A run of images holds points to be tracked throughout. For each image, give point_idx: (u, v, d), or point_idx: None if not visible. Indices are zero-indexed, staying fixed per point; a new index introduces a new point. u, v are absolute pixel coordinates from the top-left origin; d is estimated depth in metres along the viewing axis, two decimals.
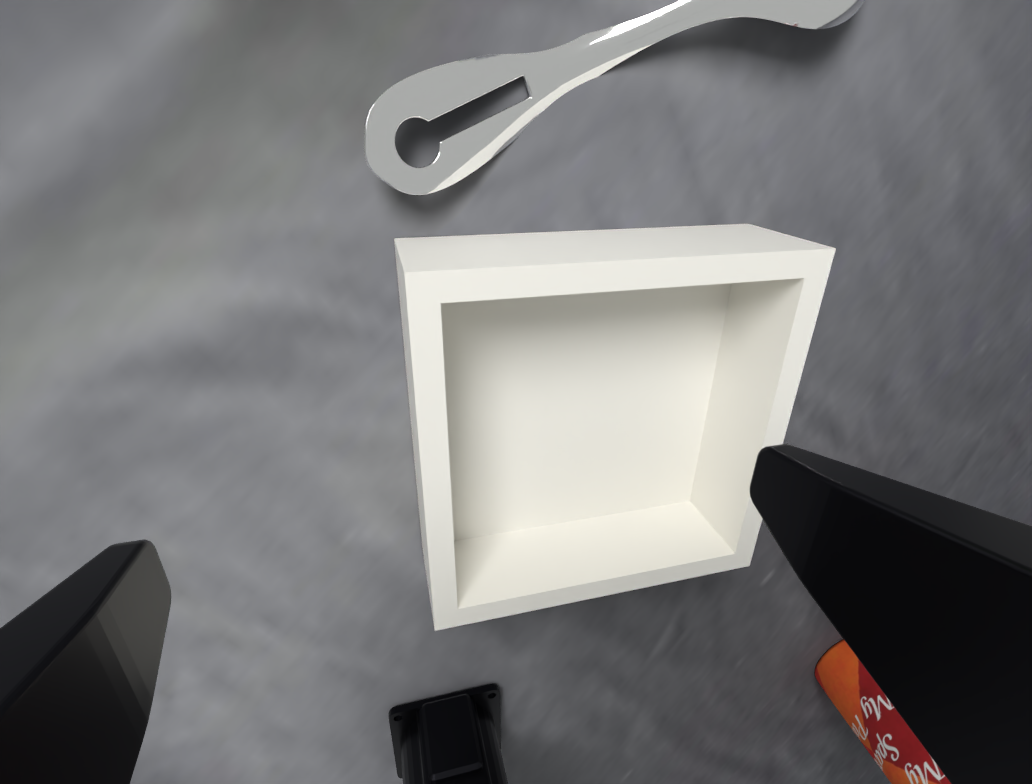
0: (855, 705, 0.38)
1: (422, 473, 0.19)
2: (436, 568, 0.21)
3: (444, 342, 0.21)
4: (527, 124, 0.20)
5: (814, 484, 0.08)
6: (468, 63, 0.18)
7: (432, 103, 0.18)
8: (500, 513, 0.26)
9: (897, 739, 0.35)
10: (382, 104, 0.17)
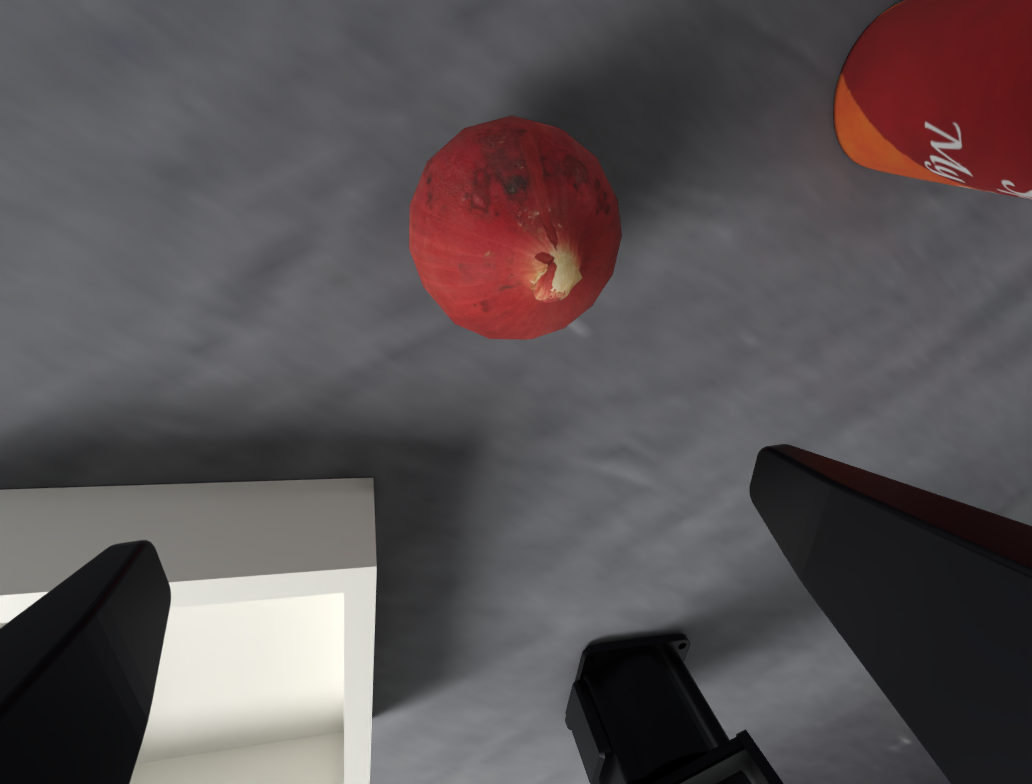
0: (938, 178, 0.18)
1: None
2: None
3: None
4: None
5: (814, 484, 0.08)
6: None
7: None
8: (318, 697, 0.25)
9: (1017, 178, 0.15)
10: None
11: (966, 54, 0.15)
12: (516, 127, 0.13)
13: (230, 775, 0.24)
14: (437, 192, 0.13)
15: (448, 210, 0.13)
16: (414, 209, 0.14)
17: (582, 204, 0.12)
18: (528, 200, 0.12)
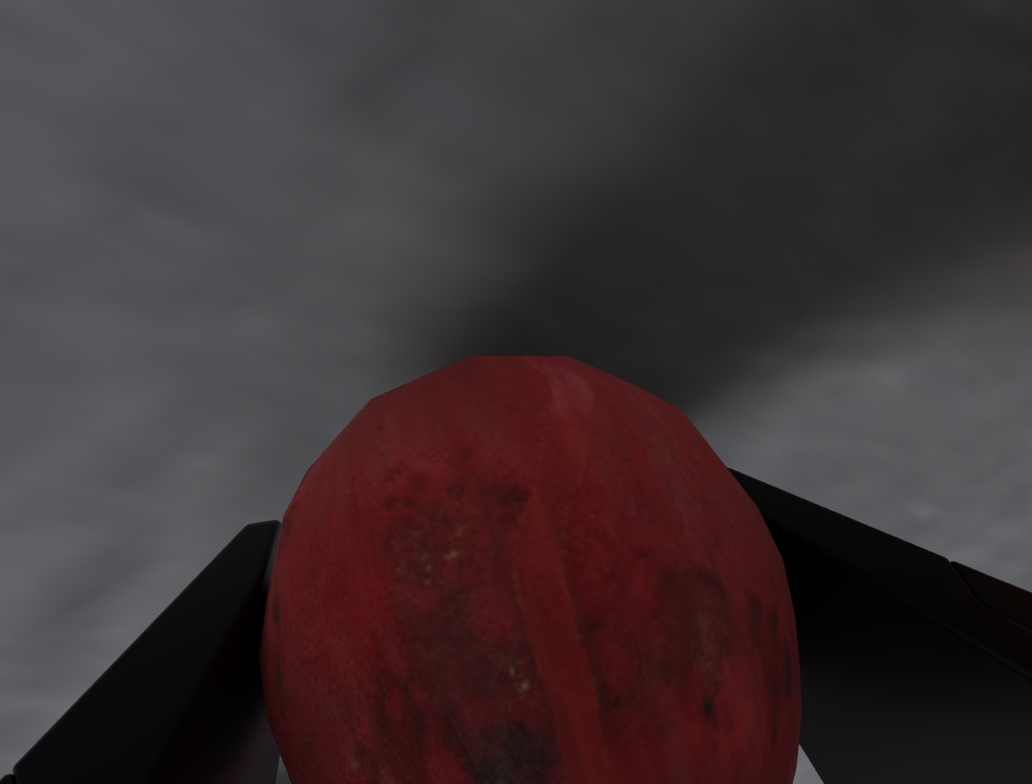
0: None
1: None
2: None
3: None
4: None
5: None
6: None
7: None
8: None
9: None
10: None
11: None
12: (495, 472, 0.04)
13: None
14: (290, 684, 0.05)
15: (319, 763, 0.04)
16: (260, 658, 0.05)
17: (738, 760, 0.04)
18: None
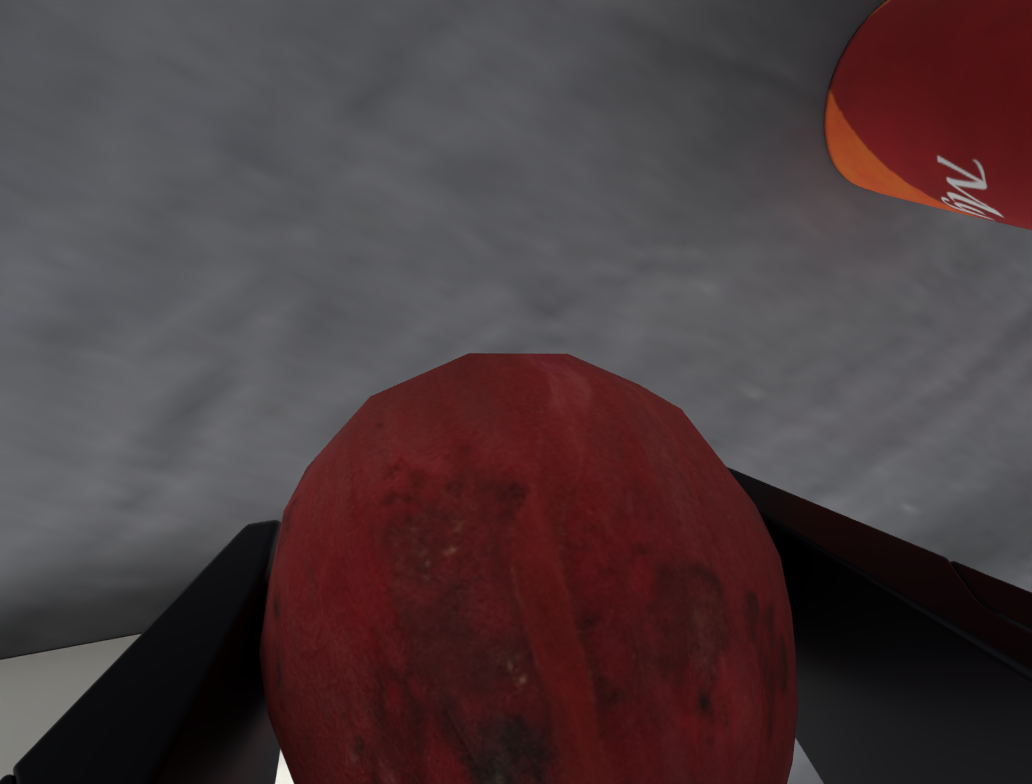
0: (960, 212, 0.15)
1: None
2: None
3: None
4: None
5: None
6: None
7: None
8: None
9: None
10: None
11: (984, 76, 0.12)
12: (494, 468, 0.04)
13: None
14: (291, 679, 0.05)
15: (317, 758, 0.04)
16: (260, 654, 0.05)
17: (733, 753, 0.04)
18: None
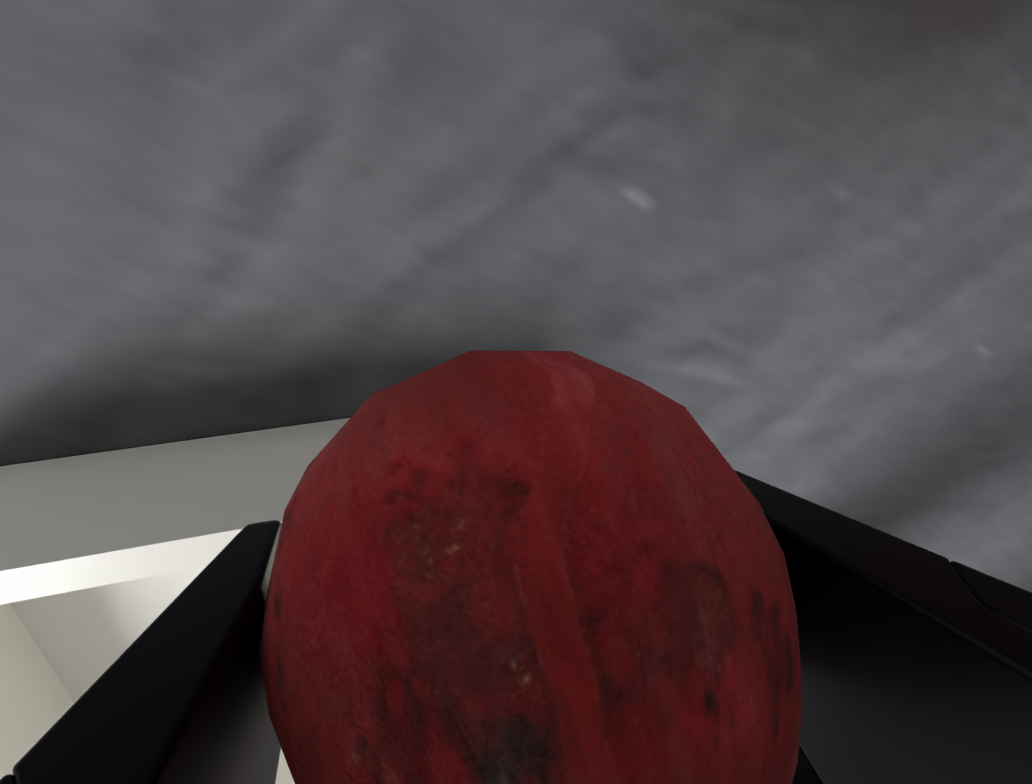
0: None
1: None
2: None
3: None
4: None
5: None
6: None
7: None
8: None
9: None
10: None
11: None
12: (497, 466, 0.04)
13: None
14: (293, 678, 0.05)
15: (321, 757, 0.04)
16: (261, 653, 0.05)
17: (739, 753, 0.04)
18: None
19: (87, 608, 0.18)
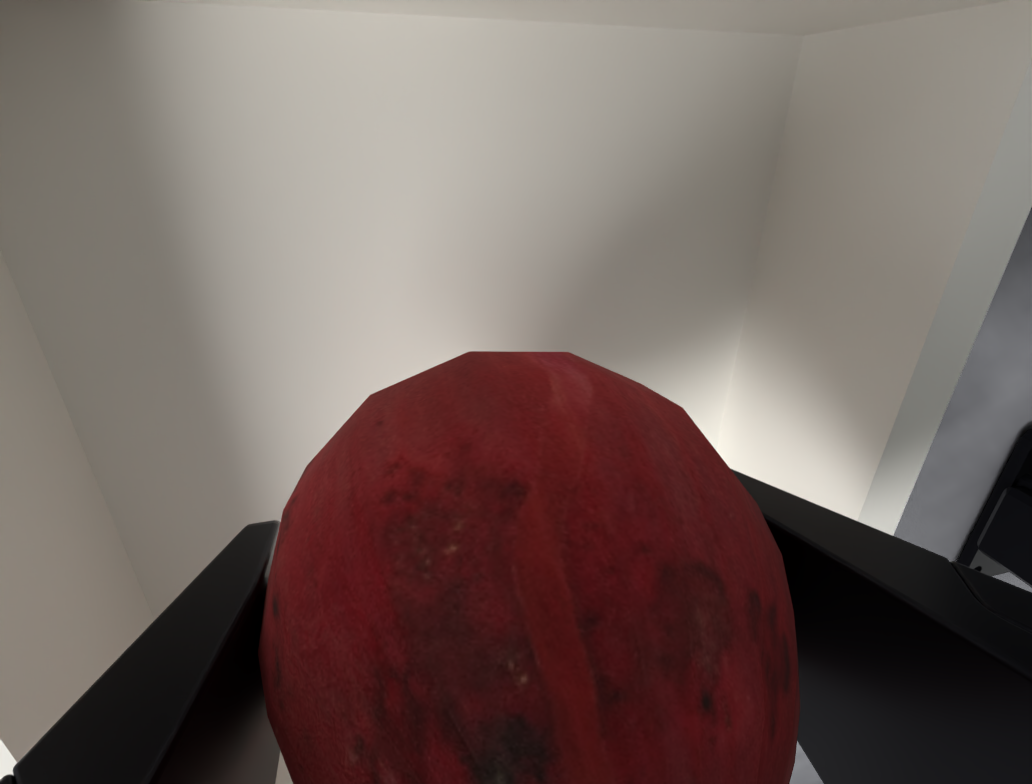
0: None
1: None
2: None
3: None
4: None
5: None
6: None
7: None
8: None
9: None
10: None
11: None
12: (495, 466, 0.04)
13: None
14: (291, 679, 0.05)
15: (317, 757, 0.04)
16: (259, 653, 0.05)
17: (735, 752, 0.04)
18: None
19: (167, 318, 0.09)
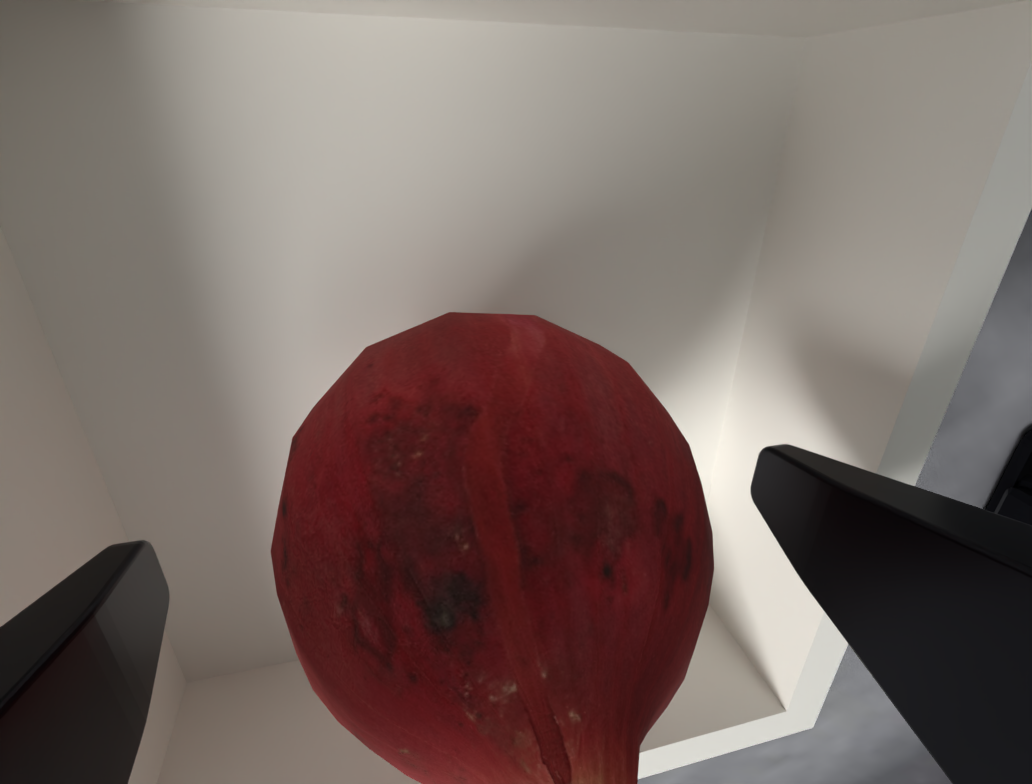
0: None
1: None
2: (685, 758, 0.12)
3: None
4: None
5: (815, 484, 0.08)
6: None
7: None
8: None
9: None
10: None
11: None
12: (456, 395, 0.06)
13: None
14: (295, 559, 0.06)
15: (313, 617, 0.05)
16: (271, 550, 0.07)
17: (629, 612, 0.05)
18: (487, 650, 0.05)
19: (174, 318, 0.09)
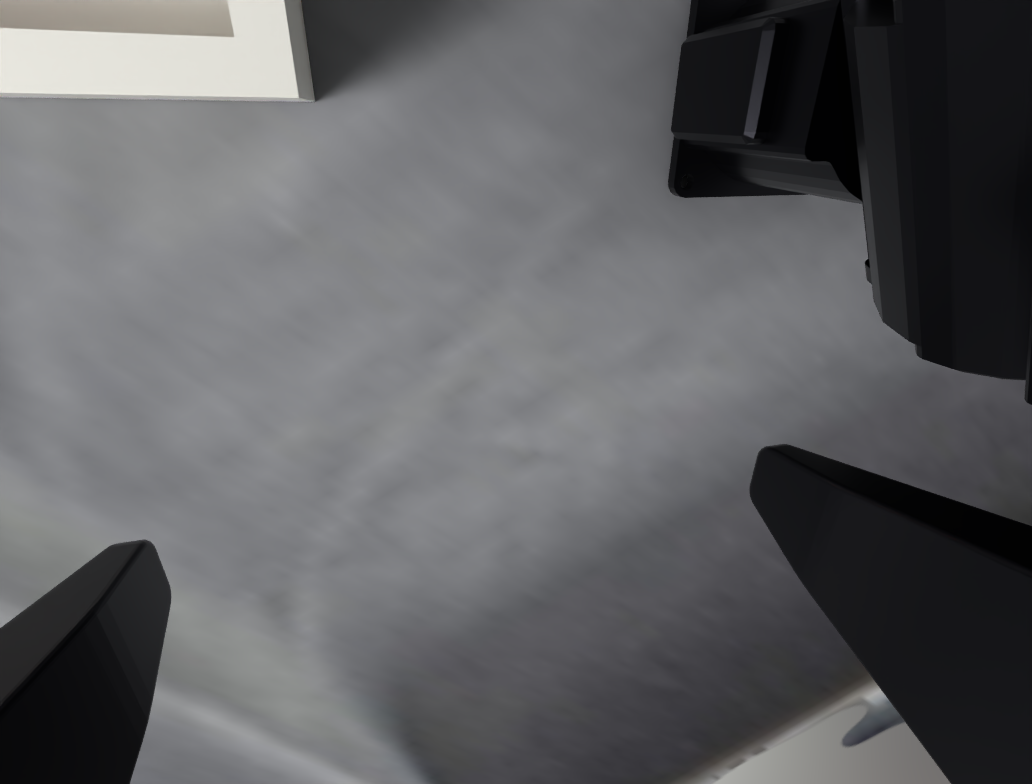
0: None
1: None
2: (103, 77, 0.10)
3: None
4: None
5: (814, 484, 0.08)
6: None
7: None
8: None
9: None
10: None
11: None
12: None
13: None
14: None
15: None
16: None
17: None
18: None
19: None
